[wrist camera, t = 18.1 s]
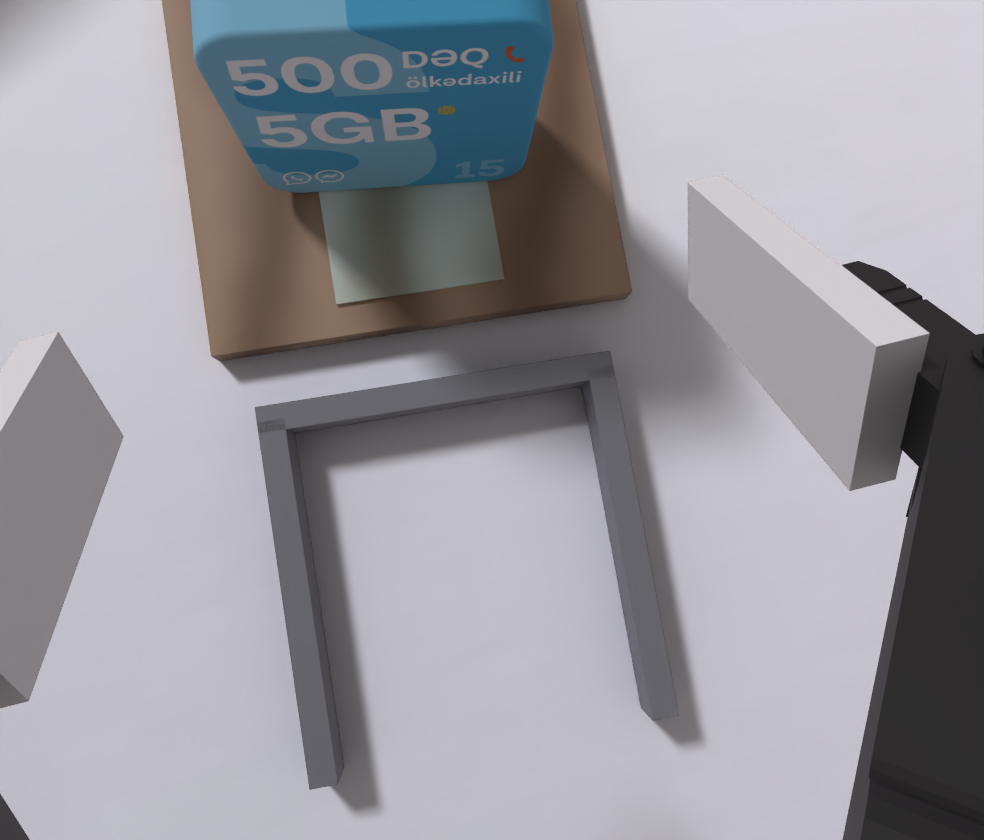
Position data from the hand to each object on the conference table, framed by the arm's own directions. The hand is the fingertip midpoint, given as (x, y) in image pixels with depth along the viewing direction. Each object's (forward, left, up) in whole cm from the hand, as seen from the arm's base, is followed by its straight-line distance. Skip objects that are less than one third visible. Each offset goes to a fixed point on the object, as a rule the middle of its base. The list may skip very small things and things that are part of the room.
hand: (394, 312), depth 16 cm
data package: (+1, +13, -19) cm, 23 cm away
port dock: (+1, +13, -20) cm, 24 cm away
